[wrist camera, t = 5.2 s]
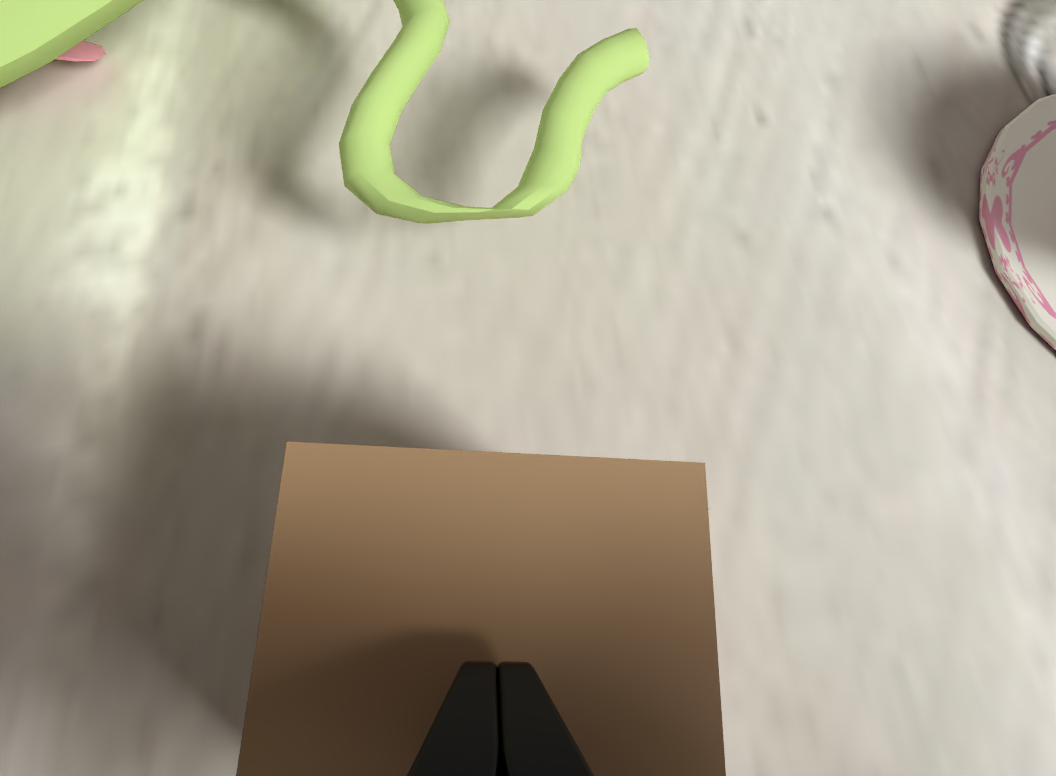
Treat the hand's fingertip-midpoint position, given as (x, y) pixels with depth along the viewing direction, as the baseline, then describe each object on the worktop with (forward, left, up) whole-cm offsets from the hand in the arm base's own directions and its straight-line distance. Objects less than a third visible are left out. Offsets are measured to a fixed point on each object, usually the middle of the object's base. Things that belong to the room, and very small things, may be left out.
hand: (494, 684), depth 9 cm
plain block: (0, 0, -8) cm, 8 cm away
